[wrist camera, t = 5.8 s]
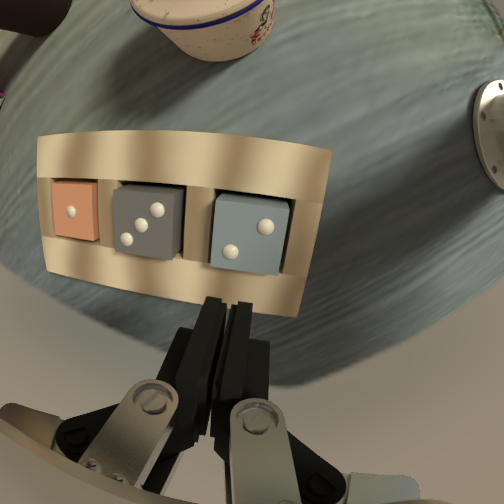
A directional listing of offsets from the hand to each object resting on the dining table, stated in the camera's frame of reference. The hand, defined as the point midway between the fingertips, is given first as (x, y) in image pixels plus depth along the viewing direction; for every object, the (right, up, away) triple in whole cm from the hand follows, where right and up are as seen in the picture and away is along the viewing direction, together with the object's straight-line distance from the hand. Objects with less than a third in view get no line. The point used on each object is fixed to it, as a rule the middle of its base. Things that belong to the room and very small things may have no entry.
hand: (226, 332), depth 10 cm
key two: (+1, +5, +12) cm, 13 cm away
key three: (-7, +6, +12) cm, 16 cm away
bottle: (-22, +30, +5) cm, 38 cm away
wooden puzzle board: (-7, +7, +14) cm, 17 cm away
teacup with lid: (-2, +24, +7) cm, 25 cm away
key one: (-15, +8, +14) cm, 22 cm away
